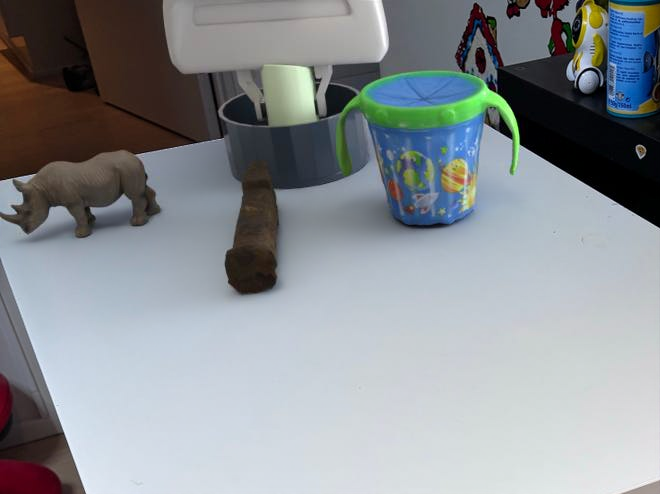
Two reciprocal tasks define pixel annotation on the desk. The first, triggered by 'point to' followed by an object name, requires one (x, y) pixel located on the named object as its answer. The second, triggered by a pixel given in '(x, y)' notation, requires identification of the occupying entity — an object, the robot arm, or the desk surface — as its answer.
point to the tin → (294, 141)
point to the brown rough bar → (254, 234)
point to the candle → (289, 94)
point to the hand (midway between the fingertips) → (292, 117)
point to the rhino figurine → (84, 191)
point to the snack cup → (427, 141)
